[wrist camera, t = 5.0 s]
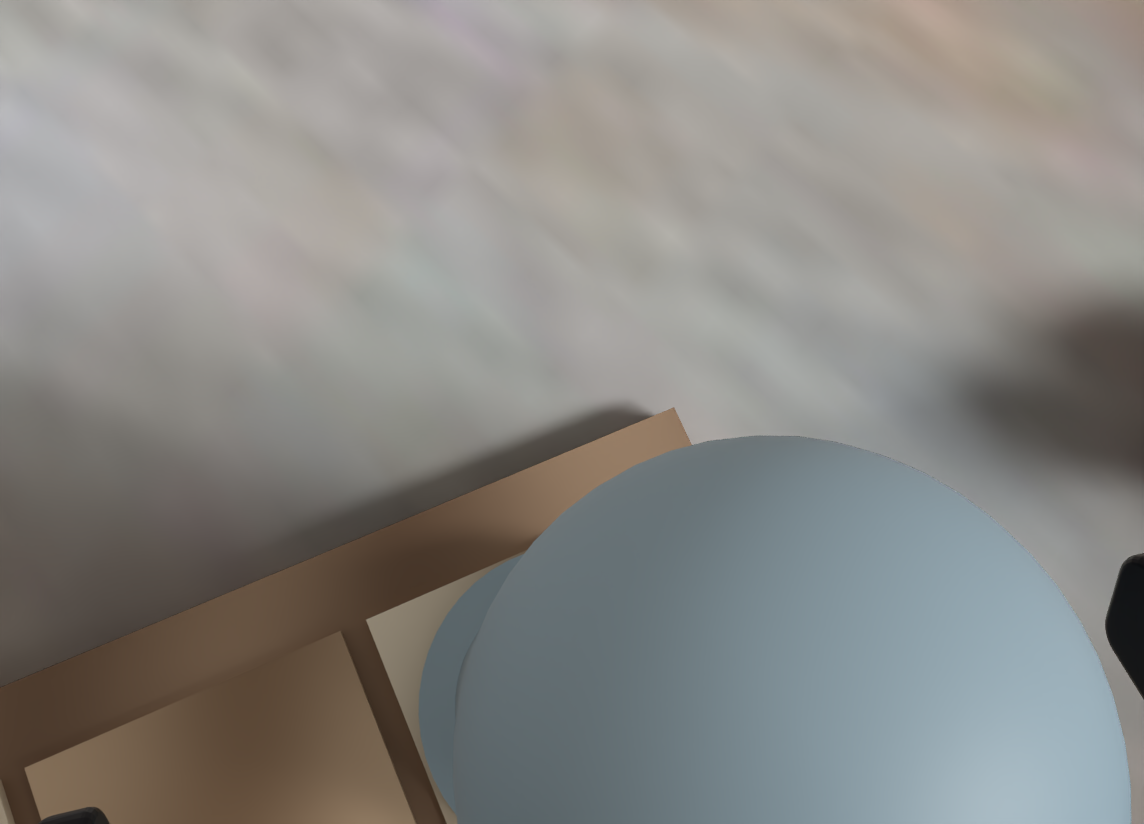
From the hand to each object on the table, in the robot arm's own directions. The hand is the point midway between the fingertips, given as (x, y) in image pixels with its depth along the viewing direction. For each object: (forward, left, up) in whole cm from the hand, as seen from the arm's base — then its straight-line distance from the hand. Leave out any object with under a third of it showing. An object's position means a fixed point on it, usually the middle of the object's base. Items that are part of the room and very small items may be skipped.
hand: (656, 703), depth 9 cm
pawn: (0, 0, -7) cm, 7 cm away
